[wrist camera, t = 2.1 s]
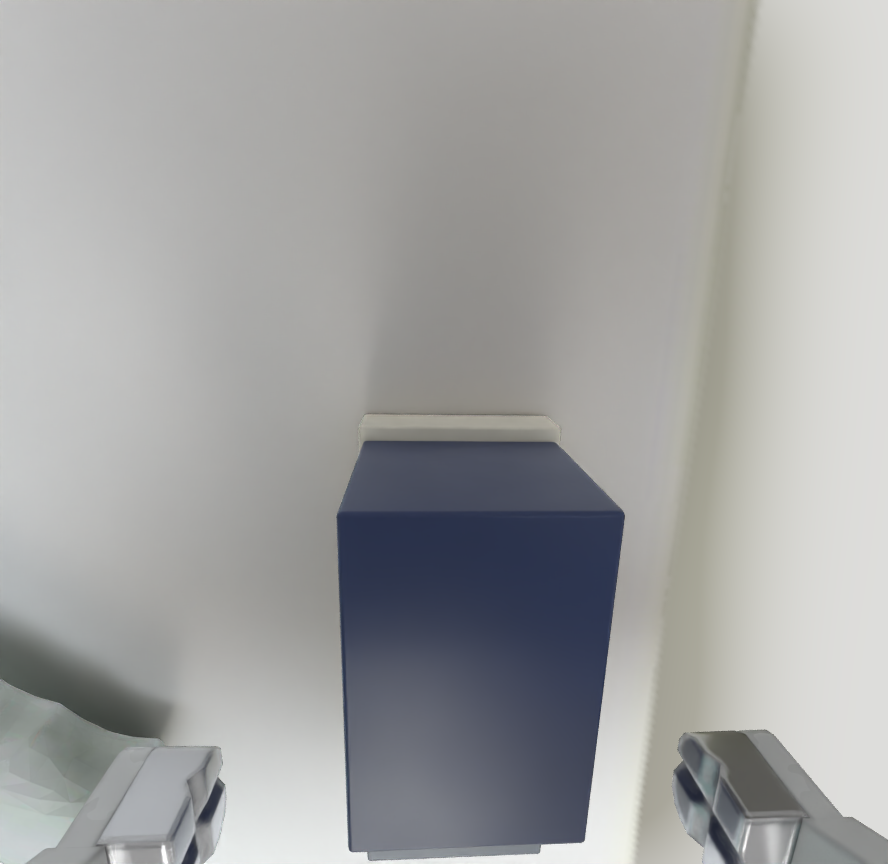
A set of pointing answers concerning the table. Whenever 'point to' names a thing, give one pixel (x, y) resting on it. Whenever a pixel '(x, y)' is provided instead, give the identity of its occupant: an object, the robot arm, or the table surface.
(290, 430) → the table surface
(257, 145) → the table surface
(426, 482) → the navy lidded box
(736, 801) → the robot arm
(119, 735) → the tape dispenser
